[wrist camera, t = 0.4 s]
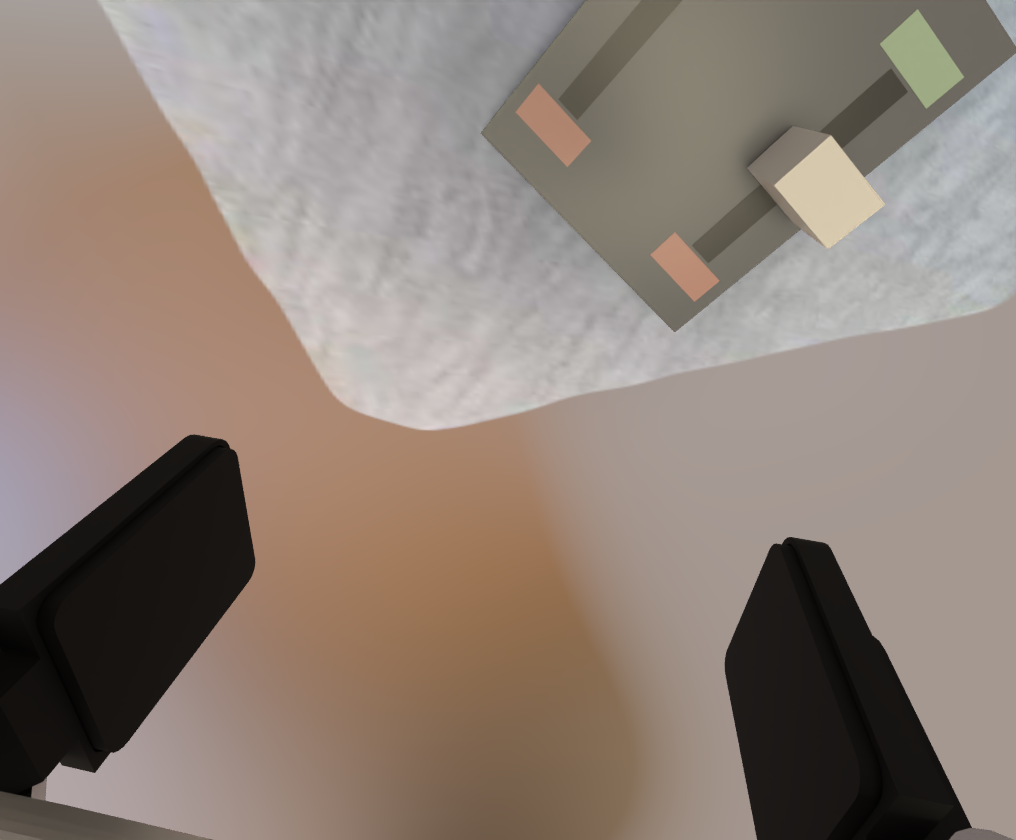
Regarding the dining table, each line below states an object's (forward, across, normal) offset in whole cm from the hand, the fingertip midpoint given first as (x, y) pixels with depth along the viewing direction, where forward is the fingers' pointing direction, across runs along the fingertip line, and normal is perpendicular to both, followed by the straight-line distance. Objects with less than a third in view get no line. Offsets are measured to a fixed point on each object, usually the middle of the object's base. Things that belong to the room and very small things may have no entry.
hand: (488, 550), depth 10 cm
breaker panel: (+34, -7, -8) cm, 36 cm away
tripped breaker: (+31, -12, -4) cm, 33 cm away
